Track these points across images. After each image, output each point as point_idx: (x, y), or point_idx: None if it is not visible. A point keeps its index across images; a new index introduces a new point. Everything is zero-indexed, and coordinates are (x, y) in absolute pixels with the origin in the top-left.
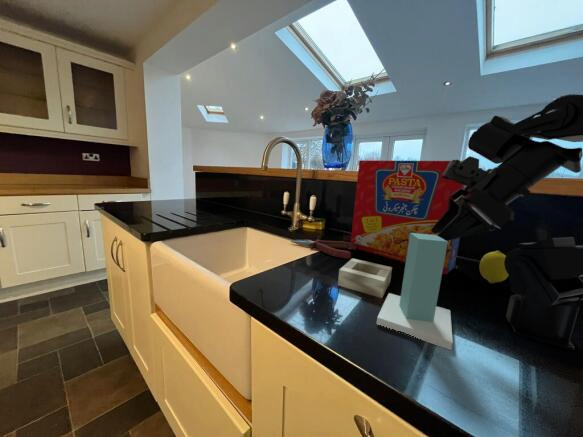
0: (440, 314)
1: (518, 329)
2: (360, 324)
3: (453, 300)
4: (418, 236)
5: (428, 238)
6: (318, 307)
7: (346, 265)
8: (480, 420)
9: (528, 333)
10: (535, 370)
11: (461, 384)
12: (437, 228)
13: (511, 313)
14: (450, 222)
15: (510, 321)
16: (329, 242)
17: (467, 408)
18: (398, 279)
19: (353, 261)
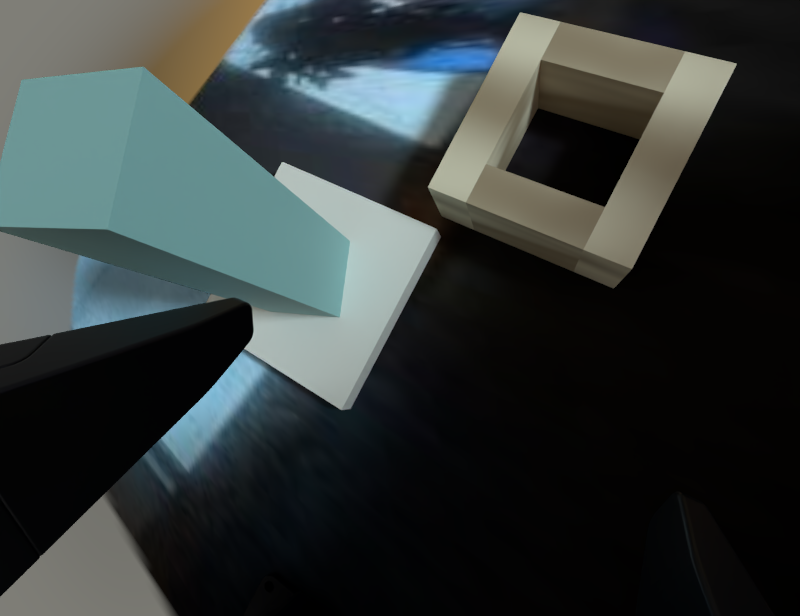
0: (312, 358)
1: (277, 593)
2: (290, 133)
3: (475, 511)
4: (66, 94)
5: (33, 139)
6: (355, 27)
7: (588, 38)
8: (86, 281)
9: (260, 608)
10: (162, 482)
11: (137, 290)
12: (664, 563)
13: (282, 607)
14: (50, 347)
15: (294, 594)
16: None
17: (101, 273)
18: (667, 344)
19: (670, 69)
